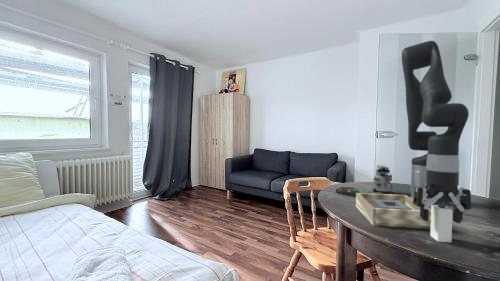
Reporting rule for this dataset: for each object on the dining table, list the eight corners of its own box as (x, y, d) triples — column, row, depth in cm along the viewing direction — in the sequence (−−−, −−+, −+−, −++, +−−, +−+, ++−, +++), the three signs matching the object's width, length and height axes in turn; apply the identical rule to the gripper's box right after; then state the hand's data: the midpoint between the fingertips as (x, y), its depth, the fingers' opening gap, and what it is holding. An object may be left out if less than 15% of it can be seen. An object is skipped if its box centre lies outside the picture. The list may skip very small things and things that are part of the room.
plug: (443, 236, 69) (444, 196, 68) (451, 242, 65) (452, 199, 65) (430, 235, 69) (431, 195, 69) (437, 241, 66) (439, 199, 65)
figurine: (370, 194, 115) (370, 166, 115) (374, 189, 124) (375, 163, 123) (390, 197, 109) (391, 167, 109) (393, 192, 118) (394, 165, 118)
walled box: (405, 208, 93) (405, 195, 93) (436, 229, 73) (437, 212, 73) (355, 206, 97) (356, 193, 96) (372, 225, 77) (373, 208, 77)
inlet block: (398, 210, 89) (398, 200, 89) (411, 219, 79) (412, 209, 79) (372, 208, 91) (372, 199, 91) (382, 217, 81) (382, 207, 81)
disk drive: (335, 194, 116) (365, 200, 106) (335, 189, 116) (365, 194, 106) (342, 190, 124) (371, 195, 114) (342, 186, 124) (371, 190, 114)
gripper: (459, 167, 69) (457, 218, 69) (409, 166, 71) (408, 215, 72) (480, 172, 61) (477, 228, 62) (423, 170, 64) (421, 224, 64)
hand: (440, 221), depth 67 cm, fingers open, 8 cm apart
